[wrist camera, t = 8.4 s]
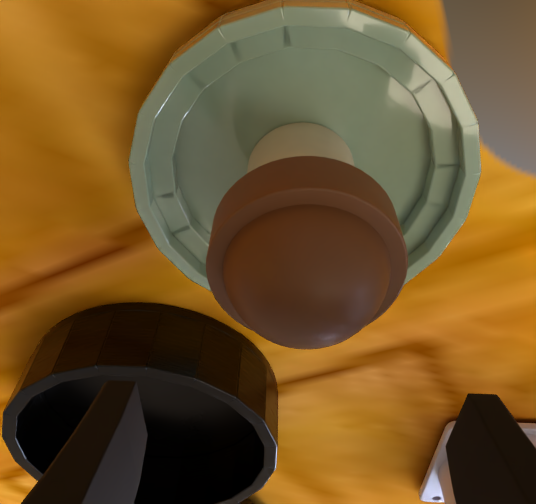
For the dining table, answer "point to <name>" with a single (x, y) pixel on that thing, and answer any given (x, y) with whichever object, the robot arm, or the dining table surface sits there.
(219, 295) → the mushroom
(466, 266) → the dining table surface
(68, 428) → the pan
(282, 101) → the plate
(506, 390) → the dining table surface
